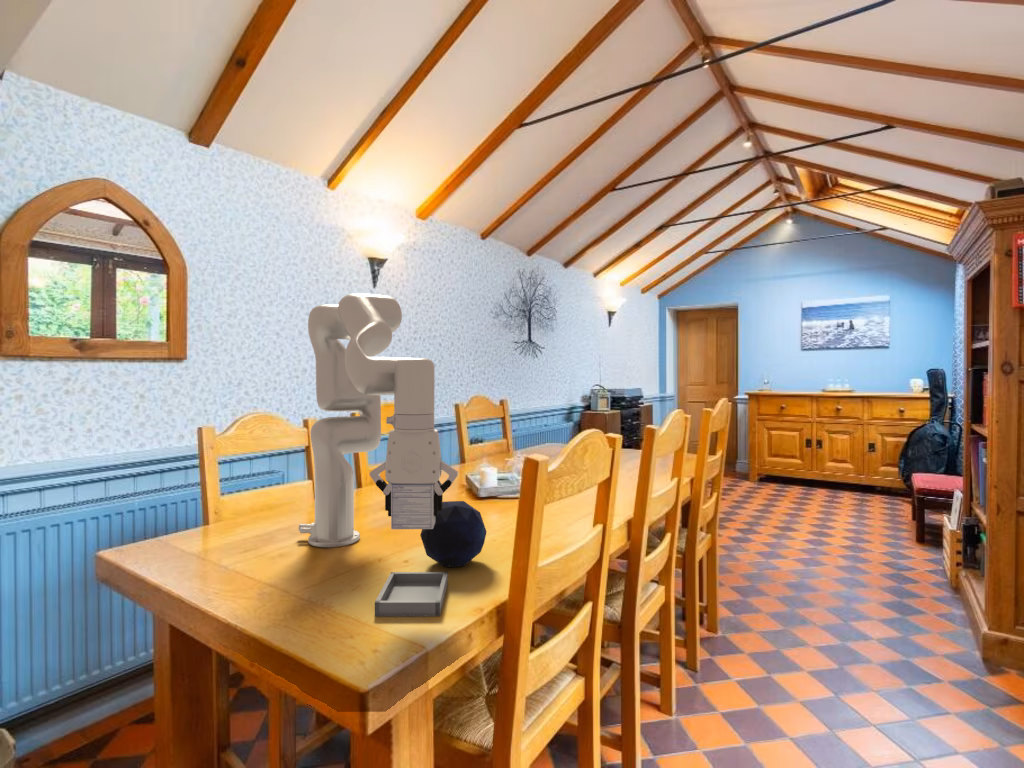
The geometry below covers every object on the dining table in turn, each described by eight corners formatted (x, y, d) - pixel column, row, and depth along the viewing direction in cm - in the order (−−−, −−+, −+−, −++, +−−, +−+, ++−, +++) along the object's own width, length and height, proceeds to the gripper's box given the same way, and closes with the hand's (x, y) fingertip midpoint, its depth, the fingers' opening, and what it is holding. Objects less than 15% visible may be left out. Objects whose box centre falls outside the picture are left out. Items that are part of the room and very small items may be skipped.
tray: (374, 616, 97) (374, 602, 97) (391, 584, 112) (391, 572, 112) (439, 616, 98) (439, 602, 97) (447, 584, 112) (447, 572, 112)
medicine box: (435, 523, 106) (435, 479, 106) (433, 530, 102) (433, 484, 102) (394, 523, 106) (395, 479, 106) (390, 530, 102) (390, 483, 101)
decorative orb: (469, 525, 136) (439, 482, 130) (509, 539, 125) (478, 493, 118) (431, 570, 129) (396, 527, 122) (469, 589, 118) (434, 543, 111)
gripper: (363, 424, 100) (363, 519, 100) (458, 425, 100) (458, 520, 101) (372, 421, 107) (372, 509, 108) (461, 421, 108) (461, 509, 108)
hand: (414, 514), depth 104 cm, fingers closed on medicine box, 8 cm apart
